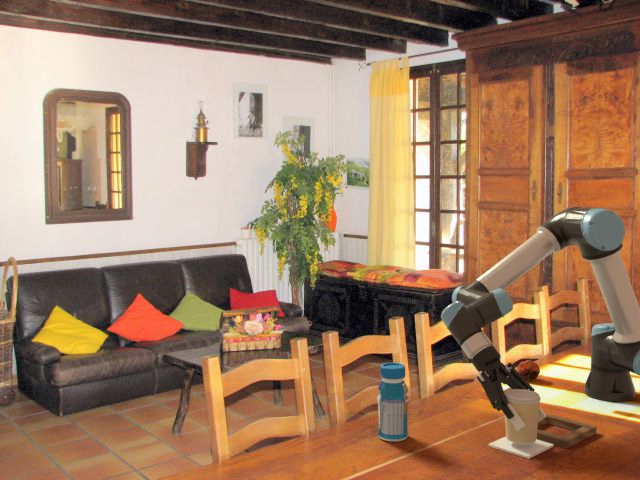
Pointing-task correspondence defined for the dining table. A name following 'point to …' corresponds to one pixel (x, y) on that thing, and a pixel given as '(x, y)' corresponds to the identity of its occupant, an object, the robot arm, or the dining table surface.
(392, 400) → the beverage bottle
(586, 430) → the square frame
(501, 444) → the white tile
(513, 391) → the coffee cup
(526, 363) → the pomegranate
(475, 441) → the dining table surface
